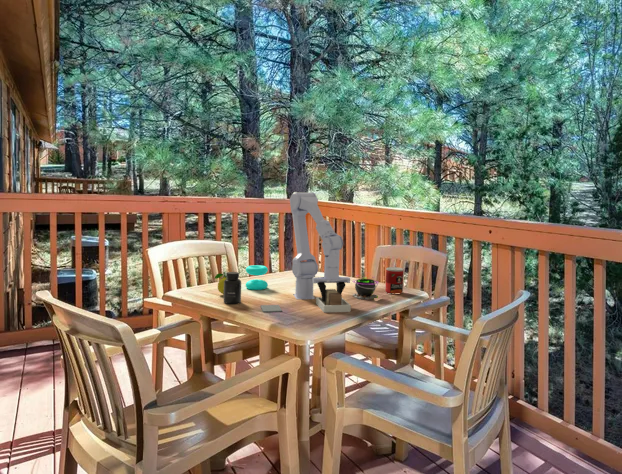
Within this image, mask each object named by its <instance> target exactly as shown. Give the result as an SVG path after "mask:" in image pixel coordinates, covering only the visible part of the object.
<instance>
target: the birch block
mask: <svg viewBox="0 0 622 474" xmlns="http://www.w3.org/2000/svg"><path fill="white" fill-rule="evenodd" d="M329 293H337V289H335V288H332V289H331V288H330V289H329V288H328V289H327V288H326V291H325V305H329Z"/></svg>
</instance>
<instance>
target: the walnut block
mask: <svg viewBox="0 0 622 474" xmlns="http://www.w3.org/2000/svg"><path fill="white" fill-rule="evenodd" d="M342 298H343V295H342V294H340V293H329V305H341V303H342Z"/></svg>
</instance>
